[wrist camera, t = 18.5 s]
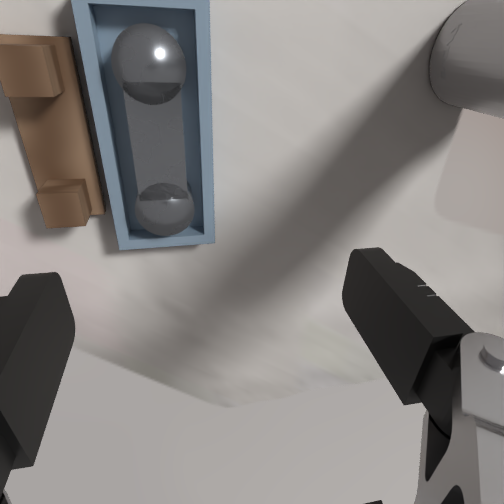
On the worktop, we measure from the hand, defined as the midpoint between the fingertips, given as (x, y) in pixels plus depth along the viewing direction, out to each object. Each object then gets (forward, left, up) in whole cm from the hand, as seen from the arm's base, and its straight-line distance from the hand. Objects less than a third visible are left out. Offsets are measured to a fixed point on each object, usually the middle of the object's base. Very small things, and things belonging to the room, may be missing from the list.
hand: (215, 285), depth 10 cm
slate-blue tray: (+2, +2, -24) cm, 24 cm away
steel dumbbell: (+2, +2, -24) cm, 24 cm away
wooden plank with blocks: (+10, +2, -24) cm, 26 cm away
